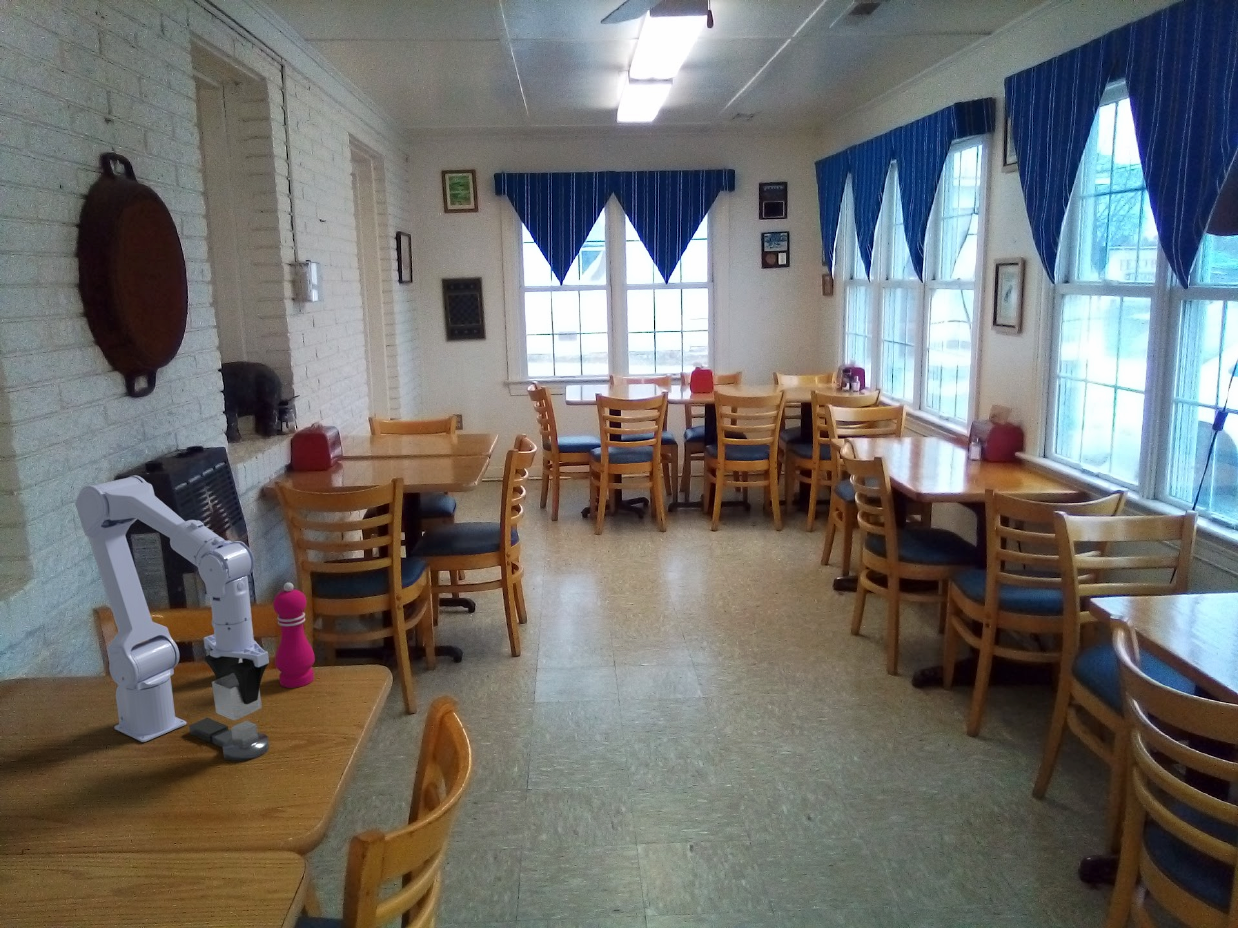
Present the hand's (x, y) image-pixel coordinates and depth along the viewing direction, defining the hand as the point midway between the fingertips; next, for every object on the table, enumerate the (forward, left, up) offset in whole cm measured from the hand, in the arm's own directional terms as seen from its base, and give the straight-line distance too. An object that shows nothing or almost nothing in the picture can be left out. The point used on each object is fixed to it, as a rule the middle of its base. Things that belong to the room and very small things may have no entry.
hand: (240, 697), depth 151 cm
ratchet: (-5, 0, -9) cm, 11 cm away
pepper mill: (-16, +22, -10) cm, 29 cm away
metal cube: (0, -1, -2) cm, 2 cm away
